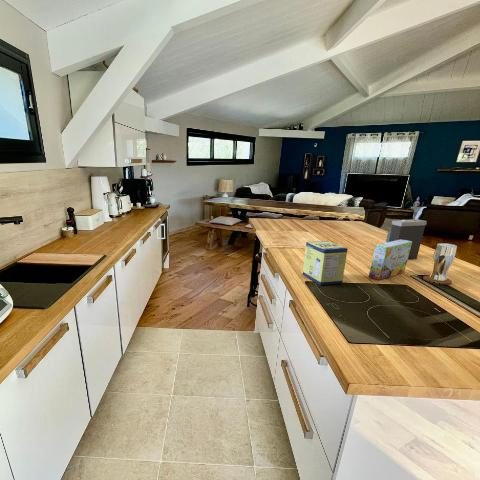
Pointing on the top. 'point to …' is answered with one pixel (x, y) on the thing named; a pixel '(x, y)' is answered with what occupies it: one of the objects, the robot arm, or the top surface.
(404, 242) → the snack box
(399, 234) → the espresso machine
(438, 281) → the coaster
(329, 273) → the protein box
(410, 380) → the top surface
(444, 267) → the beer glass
